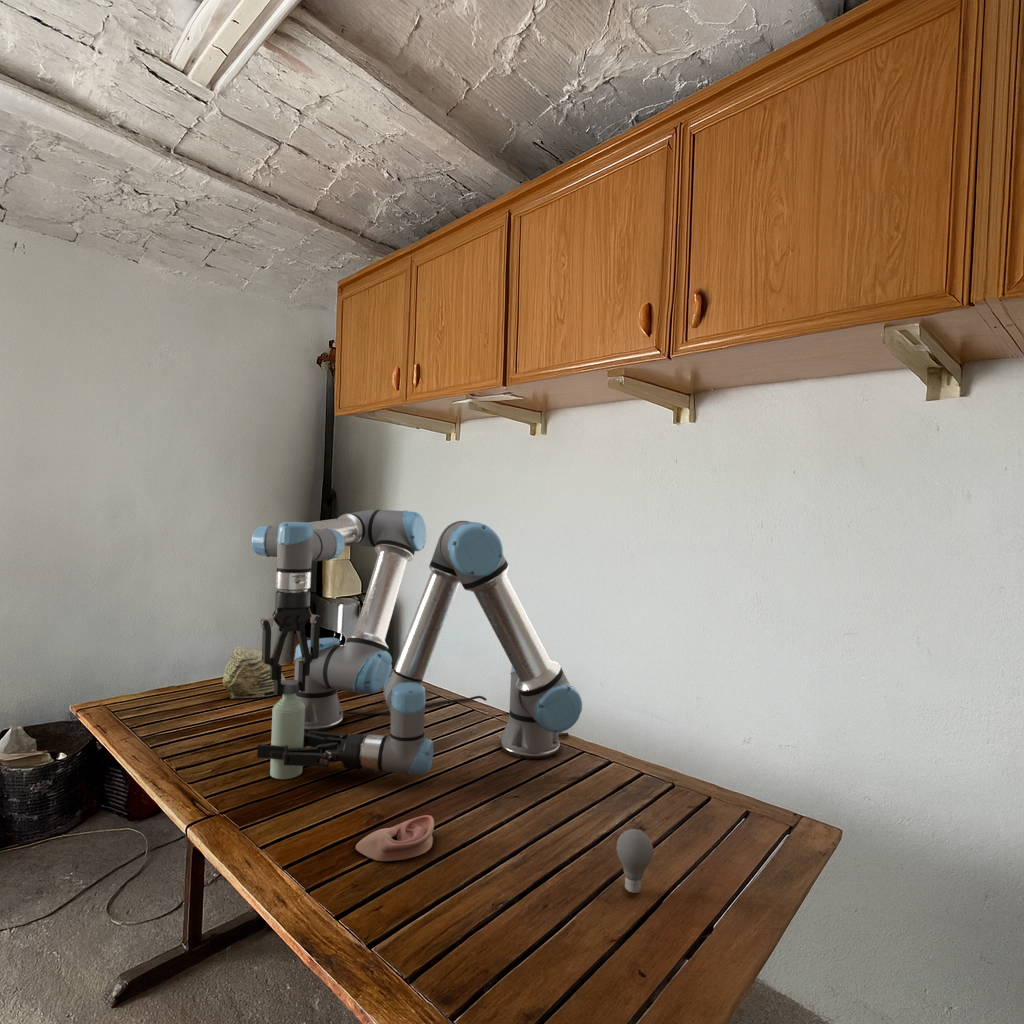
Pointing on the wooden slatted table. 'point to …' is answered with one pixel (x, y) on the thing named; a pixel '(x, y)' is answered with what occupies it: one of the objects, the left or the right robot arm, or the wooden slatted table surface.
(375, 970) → the wooden slatted table surface
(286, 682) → the cap
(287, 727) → the bottle
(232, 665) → the fossil
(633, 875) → the light bulb
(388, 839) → the anatomical model
